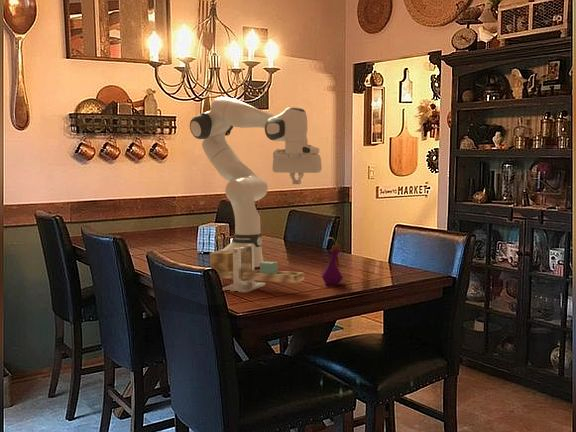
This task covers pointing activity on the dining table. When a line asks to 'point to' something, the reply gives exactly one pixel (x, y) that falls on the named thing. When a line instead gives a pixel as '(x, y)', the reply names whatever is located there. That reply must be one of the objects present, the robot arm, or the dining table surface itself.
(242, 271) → the beam
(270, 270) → the block
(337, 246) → the purple vase
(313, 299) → the dining table surface
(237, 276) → the stand
